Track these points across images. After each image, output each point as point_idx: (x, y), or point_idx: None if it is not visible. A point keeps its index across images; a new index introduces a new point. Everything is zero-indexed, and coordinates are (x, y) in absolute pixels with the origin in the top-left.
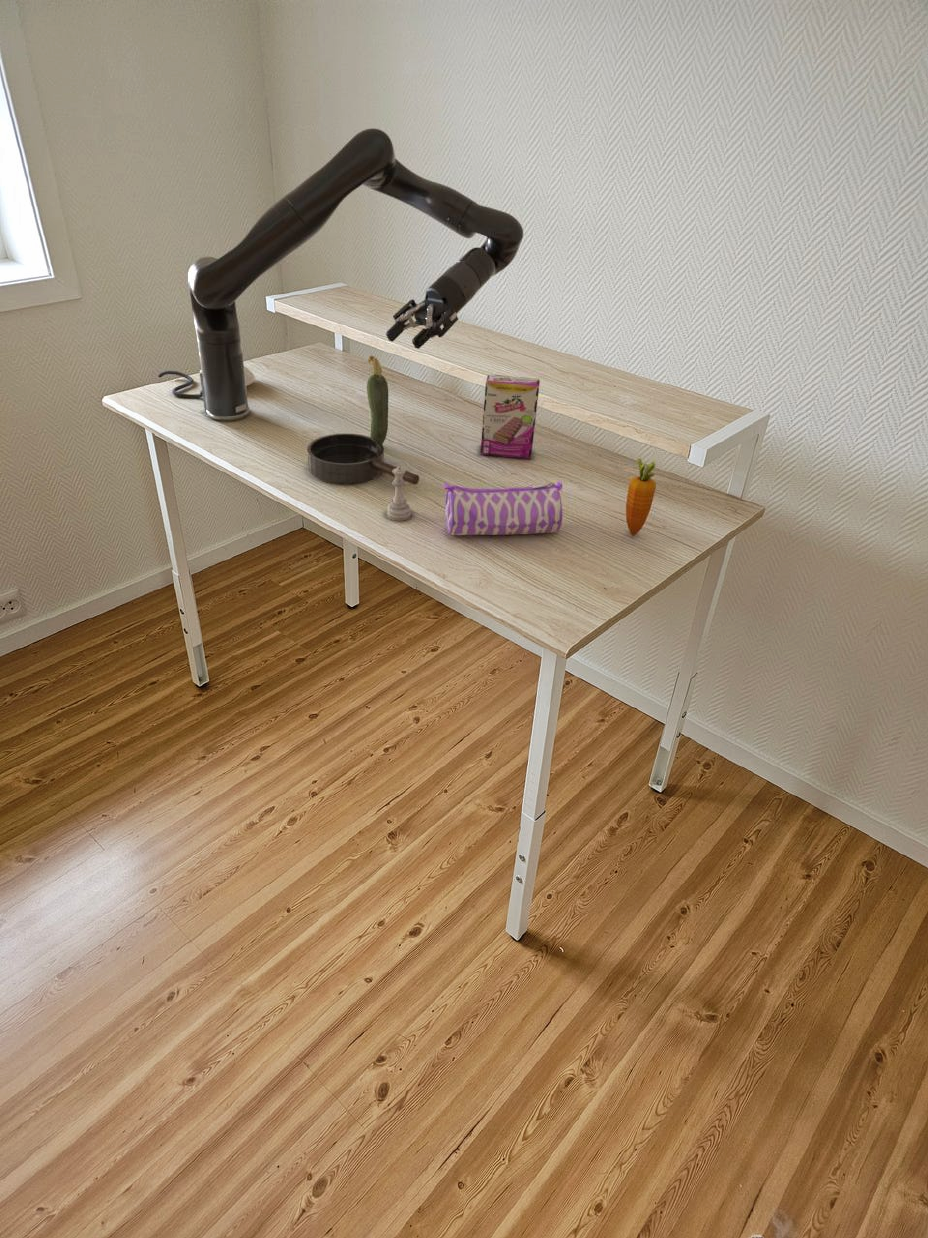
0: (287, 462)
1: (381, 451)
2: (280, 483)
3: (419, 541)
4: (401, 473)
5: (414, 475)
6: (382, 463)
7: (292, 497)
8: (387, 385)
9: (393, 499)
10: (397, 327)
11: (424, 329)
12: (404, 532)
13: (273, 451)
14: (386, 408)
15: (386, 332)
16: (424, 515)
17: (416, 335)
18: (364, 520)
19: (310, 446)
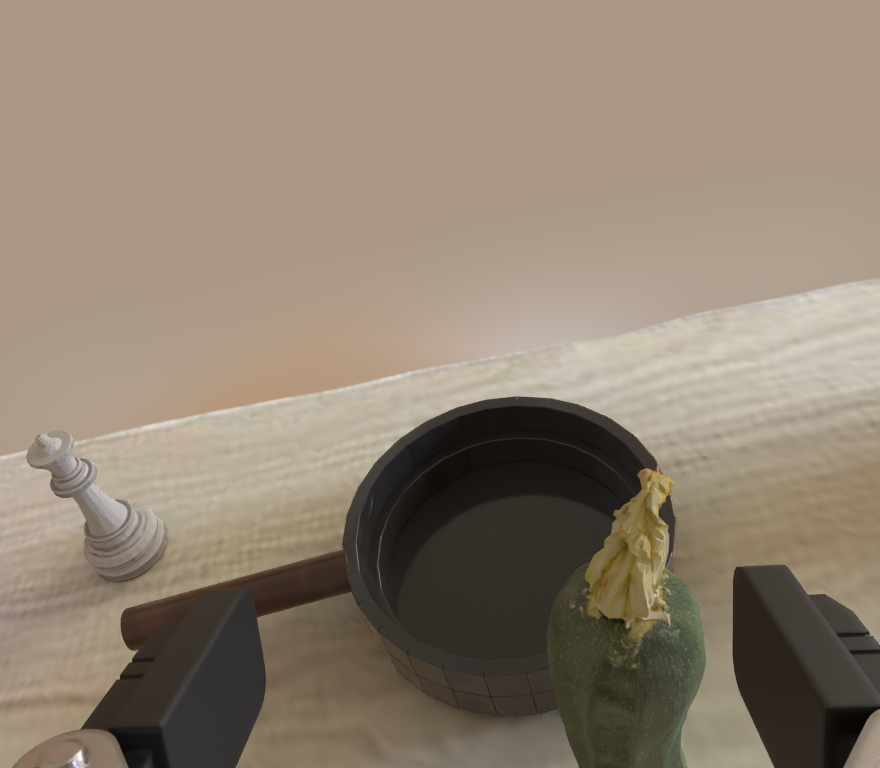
0: (682, 429)
1: (383, 622)
2: (540, 369)
3: (3, 524)
4: (32, 446)
5: (125, 612)
6: (291, 567)
7: (439, 368)
8: (580, 693)
9: (120, 503)
10: (792, 701)
11: (123, 712)
12: (64, 516)
13: (804, 421)
14: (566, 732)
15: (778, 566)
16: (65, 614)
17: (215, 628)
18: (195, 462)
19: (595, 421)
